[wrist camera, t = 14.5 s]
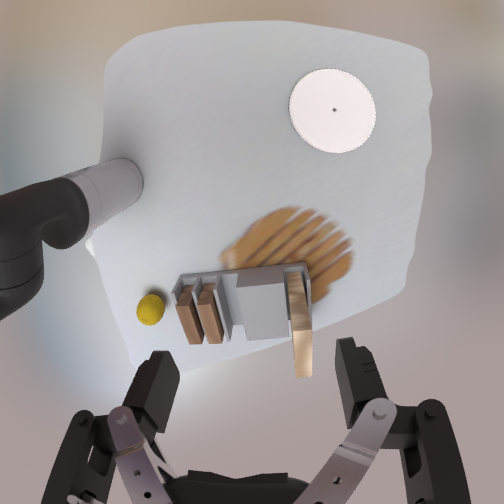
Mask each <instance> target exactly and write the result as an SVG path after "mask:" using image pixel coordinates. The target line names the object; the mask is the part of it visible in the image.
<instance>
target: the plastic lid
mask: <svg viewBox="0 0 504 504" xmlns="http://www.w3.org/2000/svg"><path fill="white" fill-rule="evenodd" d="M290 98H291V99H290V100H289V102H290V103H289V106H290V107H289V109H290V111H289V113H290V117H291V120H292V124H293V125H294V126H293V127H295V130H296V131H297V133H298V134H300V137H302V139H303V140H305V142H307V143H308V144H309V145H312V147H315V148H316V149H319V150H321V151H324V152H329V153H330V152H331V153H341V152H342V153H345V152H348V151H352V149H353V150H354V149H355V148H358V146H361V144H364V141H365V142H366V139H368V138H369V137H368V136H370V133H372V130H373V129H374V128H373V126H375V125H374V123H375V122H376V121H375V119H376V117H375V116H376V114H375V112H376V110H375V106H374V105H375V104H374V103H373V101H374V100H373V99H372V96H371V95H370V92H368V89H366V86H364V85H363V83H361V81H360V80H358V79H357V78H355V77H354V76H351V74H348V73H347V72H344V71H340V70H336V69H334V70H333V69H322V70H321V69H319V70H318V71H317V70H316V71H315V72H311V73H309V74H308V75H306V76H305V77H303V78H302V79H301V80H300V81H299V82H298V83H297V85H296V86H295V87H294V89H293V92H292V93H291V96H290Z"/></svg>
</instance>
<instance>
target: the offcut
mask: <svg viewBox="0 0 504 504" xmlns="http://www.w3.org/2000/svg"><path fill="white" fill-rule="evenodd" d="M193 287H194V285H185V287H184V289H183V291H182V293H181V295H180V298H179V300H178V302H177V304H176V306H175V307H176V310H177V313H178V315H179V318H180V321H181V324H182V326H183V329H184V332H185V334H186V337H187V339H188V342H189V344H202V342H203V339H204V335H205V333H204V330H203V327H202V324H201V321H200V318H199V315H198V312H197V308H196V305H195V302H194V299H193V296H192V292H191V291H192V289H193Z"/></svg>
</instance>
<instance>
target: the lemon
mask: <svg viewBox="0 0 504 504" xmlns="http://www.w3.org/2000/svg"><path fill="white" fill-rule="evenodd" d="M164 311H165V306H164V302H163V301H162V299H161V298H160V297H159V296H157V295H152V294H150V295H146V296H145V297H143V298H142V299H141V300H140V302H139V304H138V306H137V317H138V319H139V320H140V322H142V323H143V324H145V325H154V324H156V323H157V322H159V321H160V319H161V318H162V317H163V314H164Z"/></svg>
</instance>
